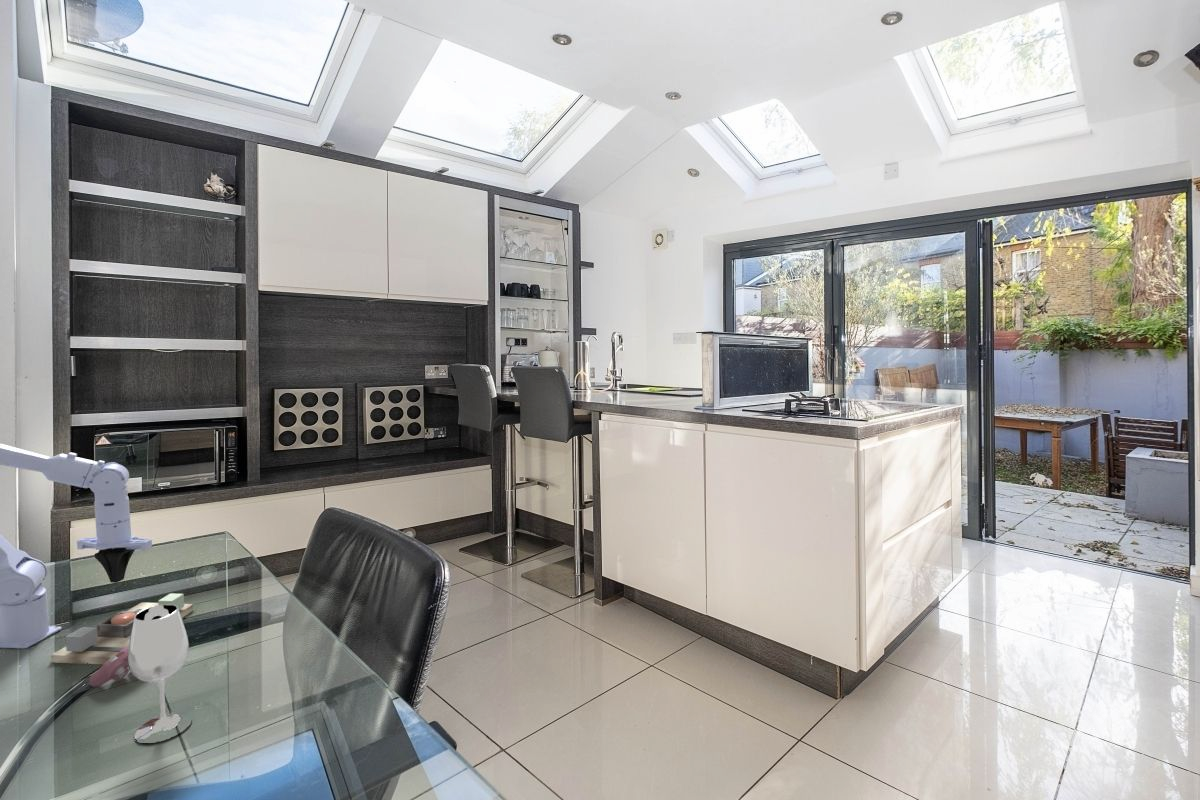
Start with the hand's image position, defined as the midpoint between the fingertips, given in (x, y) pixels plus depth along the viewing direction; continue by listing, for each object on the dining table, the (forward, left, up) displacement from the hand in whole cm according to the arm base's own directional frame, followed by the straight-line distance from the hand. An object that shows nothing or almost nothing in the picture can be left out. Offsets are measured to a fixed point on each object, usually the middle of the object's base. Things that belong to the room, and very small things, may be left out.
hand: (117, 580), depth 127 cm
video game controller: (+17, -19, -10) cm, 27 cm away
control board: (+6, -5, -9) cm, 12 cm away
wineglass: (+35, -33, -10) cm, 49 cm away
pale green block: (+10, +2, -7) cm, 13 cm away
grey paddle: (+4, -13, -7) cm, 16 cm away
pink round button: (+6, -6, -8) cm, 11 cm away
